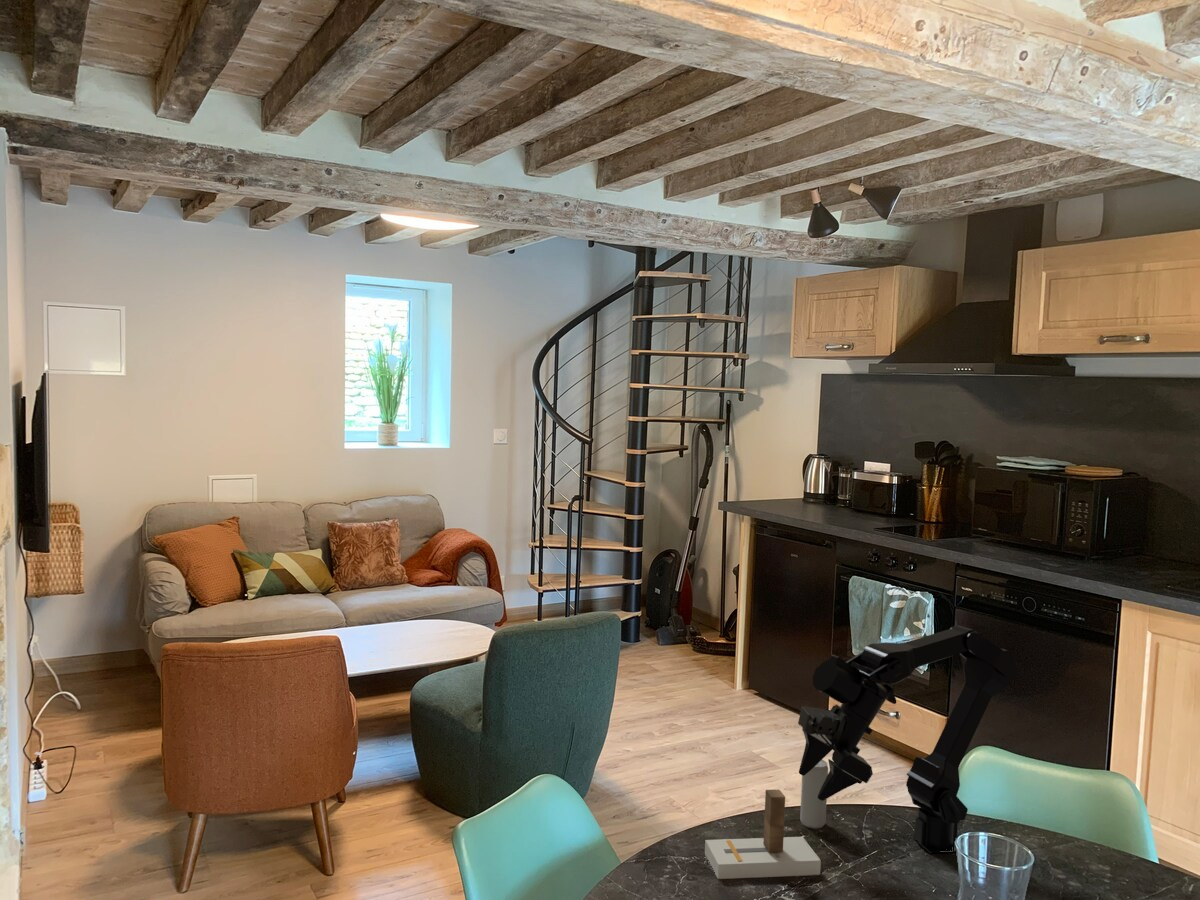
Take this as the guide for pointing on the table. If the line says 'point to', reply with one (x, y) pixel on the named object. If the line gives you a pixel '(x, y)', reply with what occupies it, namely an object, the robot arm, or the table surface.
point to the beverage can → (813, 797)
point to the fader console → (761, 858)
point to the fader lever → (774, 820)
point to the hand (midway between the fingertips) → (810, 786)
